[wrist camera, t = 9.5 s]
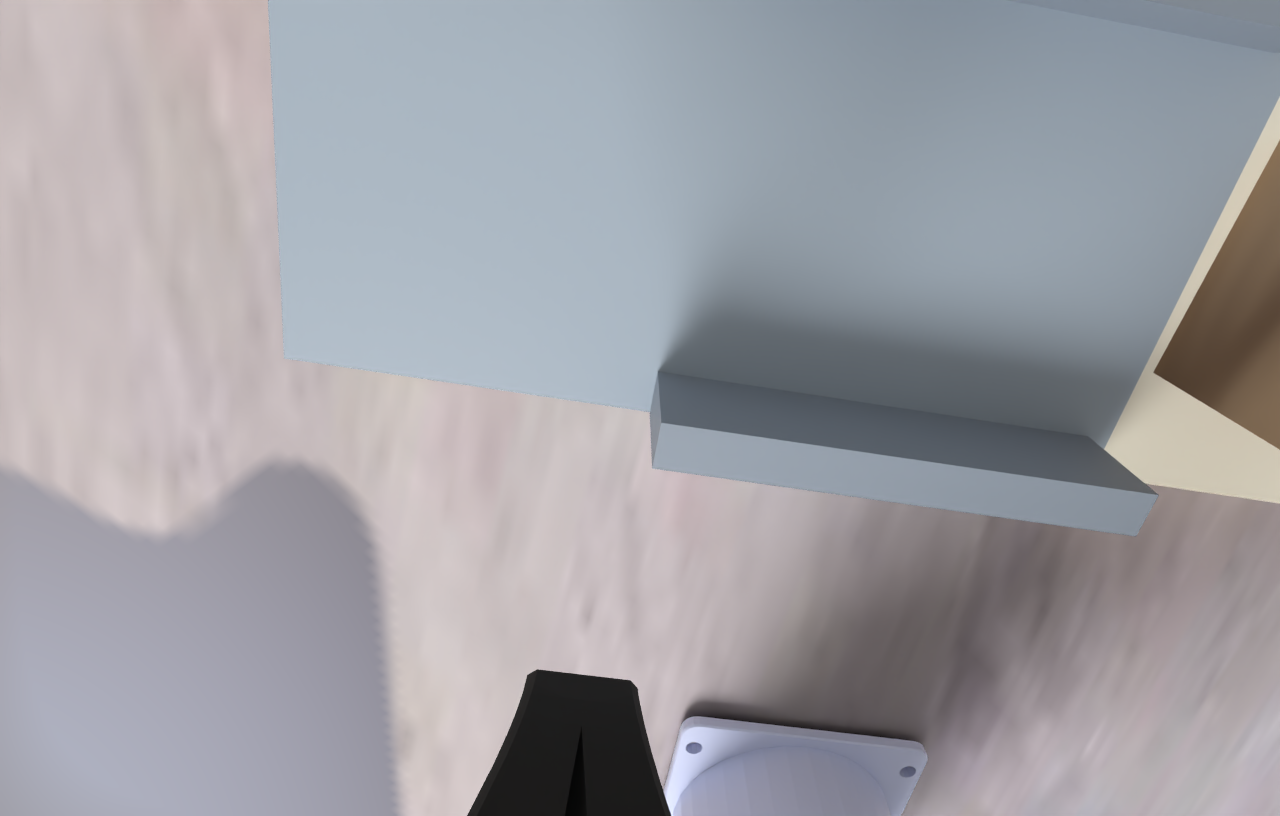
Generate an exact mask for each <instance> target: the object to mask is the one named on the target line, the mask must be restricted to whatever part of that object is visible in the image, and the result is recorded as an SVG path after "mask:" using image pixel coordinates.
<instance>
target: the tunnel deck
mask: <svg viewBox="0 0 1280 816" xmlns="http://www.w3.org/2000/svg"><path fill="white" fill-rule="evenodd" d="M268 11H269V34H270V56H271V78H272V100H273V122H274V144H275V166H276V188H277V210H278V233H279V255H280V277H281V299H282V321H283V343H284V358H285V359H292V360H299V361H305V362H312V363H319V364H326V365H333V366H339V367H346V368H353V369H360V370H367V371H374V372H380V373H387V374H394V375H401V376H408V377H414V378H421V379H428V380H435V381H442V382H449V383H455V384H462V385H469V386H476V387H483V388H489V389H496V390H503V391H510V392H517V393H524V394H530V395H537V396H544V397H551V398H558V399H564V400H571V401H578V402H585V403H592V404H599V405H605V406H612V407H619V408H626V409H633V410H640V411H646V412H650V427H651V450H652V468H653V469H660V470H667V471H674V472H681V473H688V474H696V475H703V476H710V477H717V478H724V479H731V480H738V481H745V482H752V483H759V484H767V485H774V486H781V487H788V488H795V489H802V490H809V491H816V492H823V493H831V494H838V495H845V496H852V497H859V498H866V499H873V500H880V501H887V502H894V503H902V504H909V505H916V506H923V507H930V508H937V509H944V510H951V511H958V512H966V513H973V514H980V515H987V516H994V517H1001V518H1008V519H1015V520H1022V521H1029V522H1037V523H1044V524H1051V525H1058V526H1065V527H1072V528H1079V529H1086V530H1093V531H1101V532H1108V533H1115V534H1122V535H1129V536H1137V534H1138V532H1139V530H1140V528H1141V527H1142V525H1143V523H1144V521H1145V519H1146V517H1147V516H1148V514H1149V512H1150V510H1151V508H1152V507H1153V505H1154V503H1155V501H1156V499H1157V498H1158V496H1159V495H1158V494H1157V493H1156V492H1154V491H1153V490H1152V489H1151V488H1150V487H1148V486H1147V485H1146V484H1150V485H1157V486H1164V487H1171V488H1178V489H1184V490H1191V491H1198V492H1205V493H1212V494H1218V495H1225V496H1232V497H1239V498H1246V499H1253V500H1259V501H1266V502H1273V503H1280V450H1279V449H1278V448H1276V447H1275V446H1273V445H1271V444H1270V443H1268V442H1266V441H1265V440H1263V439H1261V438H1260V437H1258V436H1256V435H1255V434H1253V433H1252V432H1250V431H1248V430H1247V429H1245V428H1243V427H1242V426H1240V425H1238V424H1237V423H1235V422H1233V421H1232V420H1230V419H1229V418H1227V417H1225V416H1224V415H1222V414H1220V413H1219V412H1217V411H1215V410H1214V409H1212V408H1210V407H1209V406H1207V405H1206V404H1204V403H1202V402H1201V401H1199V400H1197V399H1196V398H1194V397H1192V396H1191V395H1189V394H1187V393H1186V392H1184V391H1183V390H1181V389H1179V388H1178V387H1176V386H1174V385H1173V384H1171V383H1169V382H1168V381H1166V380H1164V379H1163V378H1161V377H1160V376H1158V375H1156V374H1155V373H1153V372H1154V370H1155V368H1156V366H1157V365H1158V363H1159V361H1160V359H1161V357H1162V355H1163V354H1164V352H1165V350H1166V348H1167V346H1168V344H1169V342H1170V341H1171V339H1172V337H1173V335H1174V333H1175V331H1176V330H1177V328H1178V326H1179V324H1180V322H1181V320H1182V319H1183V317H1184V315H1185V313H1186V311H1187V309H1188V308H1189V306H1190V304H1191V302H1192V300H1193V298H1194V297H1195V295H1196V293H1197V291H1198V289H1199V287H1200V286H1201V284H1202V282H1203V280H1204V278H1205V276H1206V275H1207V273H1208V271H1209V269H1210V267H1211V265H1212V263H1213V262H1214V260H1215V258H1216V256H1217V254H1218V252H1219V251H1220V249H1221V247H1222V245H1223V243H1224V241H1225V240H1226V238H1227V236H1228V234H1229V232H1230V230H1231V229H1232V227H1233V225H1234V223H1235V221H1236V219H1237V218H1238V216H1239V214H1240V212H1241V210H1242V208H1243V207H1244V205H1245V203H1246V201H1247V199H1248V197H1249V196H1250V194H1251V192H1252V190H1253V188H1254V186H1255V185H1256V183H1257V181H1258V179H1259V177H1260V175H1261V173H1262V172H1263V170H1264V168H1265V166H1266V164H1267V162H1268V161H1269V159H1270V157H1271V155H1272V153H1273V151H1274V150H1275V148H1276V146H1277V144H1278V142H1279V140H1280V0H268Z"/></svg>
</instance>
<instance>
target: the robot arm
mask: <svg viewBox="0 0 1280 816" xmlns="http://www.w3.org/2000/svg"><path fill="white" fill-rule="evenodd" d="M691 742H697V743H691ZM927 760H928V756H927V754H926V751H925V749H924V746H923V745H922V744H921V743H919V742H915V741H910V740H901V739H892V738H884V737H875V736H866V735H858V734H849V733H840V732H831V731H823V730H814V729H805V728H797V727H788V726H779V725H771V724H762V723H753V722H745V721H736V720H727V719H718V718H710V717H701V716H693V717H690V718H687V719H686V720H685V721H683V723H682V725H681V727H680V731H679V735H678V738H677V742H676V746H675V750H674V753H673V757H672V761H671V765H670V769H669V772H668V776H667V780H666V784H665V787H664V791H663V789H662V786H661V783H660V779H659V776H658V773H657V769H656V766H655V762H654V759H653V755H652V752H651V748H650V745H649V741H648V737H647V733H646V729H645V725H644V721H643V716H642V711H641V706H640V701H639V696H638V689H637V687H636V686H635V685H634V684H633V683H632V682H631V681H630V680H622V679H613V678H605V677H596V676H588V675H579V674H571V673H562V672H554V671H545V670H536V671H534V672H532V673H530V674H529V675H527V679H526V683H525V687H524V691H523V694H522V697H521V700H520V703H519V706H518V709H517V711H516V714H515V717H514V719H513V722H512V724H511V727H510V729H509V731H508V734H507V736H506V738H505V740H504V743H503V745H502V747H501V749H500V751H499V754H498V756H497V758H496V760H495V762H494V765H493V767H492V769H491V771H490V772H489V774H488V776H487V778H486V780H485V782H484V784H483V786H482V788H481V790H480V792H479V794H478V796H477V798H476V800H475V802H474V804H473V805H472V807H471V809H470V811H469V813H468V815H467V816H901V815H902V813H903V811H904V809H905V807H906V805H907V803H908V801H909V798H910V796H911V794H912V792H913V790H914V788H915V786H916V784H917V782H918V780H919V778H920V776H921V773H922V771H923V769H924V767H925V765H926V763H927Z"/></svg>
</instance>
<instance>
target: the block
mask: <svg viewBox="0 0 1280 816" xmlns="http://www.w3.org/2000/svg"><path fill="white" fill-rule="evenodd" d="M1153 373H1155V374H1156V375H1158V376H1160V377H1161V378H1163V379H1164V380H1166V381H1168V382H1169V383H1171V384H1173V385H1174V386H1176V387H1178V388H1179V389H1181V390H1183V391H1184V392H1186V393H1187V394H1189V395H1191V396H1192V397H1194V398H1196V399H1197V400H1199V401H1201V402H1202V403H1204V404H1206V405H1207V406H1209V407H1210V408H1212V409H1214V410H1215V411H1217V412H1219V413H1220V414H1222V415H1224V416H1225V417H1227V418H1229V419H1230V420H1232V421H1233V422H1235V423H1237V424H1238V425H1240V426H1242V427H1243V428H1245V429H1247V430H1248V431H1250V432H1252V433H1253V434H1255V435H1256V436H1258V437H1260V438H1261V439H1263V440H1265V441H1266V442H1268V443H1270V444H1271V445H1273V446H1275V447H1276V448H1278V449H1279V450H1280V140H1279V142H1278V144H1277V146H1276V148H1275V150H1274V151H1273V153H1272V155H1271V157H1270V159H1269V161H1268V162H1267V164H1266V166H1265V168H1264V170H1263V172H1262V173H1261V175H1260V177H1259V179H1258V181H1257V183H1256V185H1255V186H1254V188H1253V190H1252V192H1251V194H1250V196H1249V197H1248V199H1247V201H1246V203H1245V205H1244V207H1243V208H1242V210H1241V212H1240V214H1239V216H1238V218H1237V219H1236V221H1235V223H1234V225H1233V227H1232V229H1231V230H1230V232H1229V234H1228V236H1227V238H1226V240H1225V241H1224V243H1223V245H1222V247H1221V249H1220V251H1219V252H1218V254H1217V256H1216V258H1215V260H1214V262H1213V263H1212V265H1211V267H1210V269H1209V271H1208V273H1207V275H1206V276H1205V278H1204V280H1203V282H1202V284H1201V286H1200V287H1199V289H1198V291H1197V293H1196V295H1195V297H1194V298H1193V300H1192V302H1191V304H1190V306H1189V308H1188V309H1187V311H1186V313H1185V315H1184V317H1183V319H1182V320H1181V322H1180V324H1179V326H1178V328H1177V330H1176V331H1175V333H1174V335H1173V337H1172V339H1171V341H1170V342H1169V344H1168V346H1167V348H1166V350H1165V352H1164V354H1163V355H1162V357H1161V359H1160V361H1159V363H1158V365H1157V366H1156V368H1155V370H1154V372H1153Z"/></svg>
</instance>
